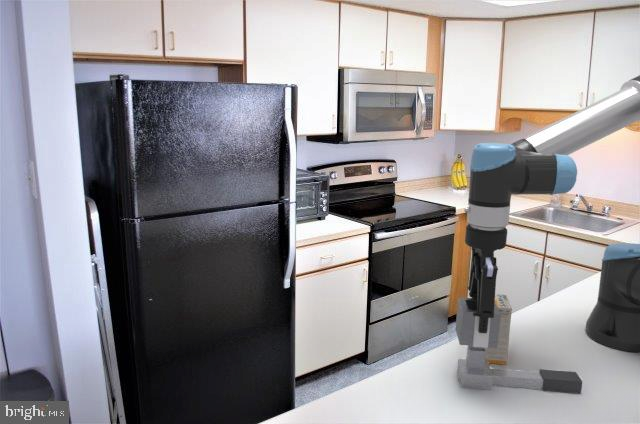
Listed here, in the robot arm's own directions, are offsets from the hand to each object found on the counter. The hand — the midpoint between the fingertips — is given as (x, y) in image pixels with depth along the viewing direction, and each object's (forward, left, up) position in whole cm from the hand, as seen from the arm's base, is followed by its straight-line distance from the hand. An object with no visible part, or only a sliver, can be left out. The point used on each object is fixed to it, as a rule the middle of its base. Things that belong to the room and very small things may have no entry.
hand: (476, 337), depth 102 cm
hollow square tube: (0, 0, 0) cm, 0 cm away
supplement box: (-6, -12, -10) cm, 16 cm away
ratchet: (-9, 0, -10) cm, 13 cm away
